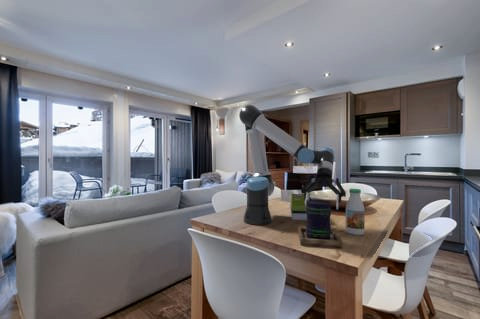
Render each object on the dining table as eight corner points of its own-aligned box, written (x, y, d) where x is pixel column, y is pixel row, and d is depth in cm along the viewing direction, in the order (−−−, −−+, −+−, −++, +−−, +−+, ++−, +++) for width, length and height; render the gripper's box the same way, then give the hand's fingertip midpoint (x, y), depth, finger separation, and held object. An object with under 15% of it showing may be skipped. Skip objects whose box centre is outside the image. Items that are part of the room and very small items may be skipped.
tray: (300, 245, 88) (300, 238, 88) (298, 232, 103) (298, 227, 103) (341, 248, 85) (341, 241, 85) (333, 235, 100) (333, 229, 100)
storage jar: (300, 236, 95) (300, 201, 95) (315, 231, 101) (315, 198, 101) (321, 243, 87) (321, 205, 87) (335, 238, 93) (336, 202, 93)
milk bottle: (341, 231, 105) (342, 188, 105) (353, 229, 108) (353, 187, 108) (356, 236, 98) (356, 190, 98) (368, 234, 101) (368, 189, 101)
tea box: (289, 213, 139) (289, 189, 139) (306, 214, 138) (306, 189, 138) (291, 219, 124) (292, 193, 124) (310, 220, 123) (310, 193, 123)
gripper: (351, 177, 114) (351, 214, 100) (301, 175, 125) (295, 208, 111) (351, 167, 109) (351, 204, 95) (299, 166, 120) (292, 199, 107)
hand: (321, 206), depth 103 cm, fingers open, 13 cm apart
